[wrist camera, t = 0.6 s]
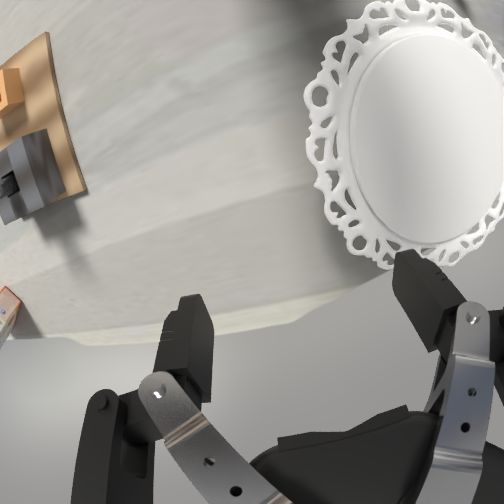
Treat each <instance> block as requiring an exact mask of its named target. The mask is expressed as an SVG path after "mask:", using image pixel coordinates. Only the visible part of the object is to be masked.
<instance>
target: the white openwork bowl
mask: <svg viewBox="0 0 504 504" xmlns="http://www.w3.org/2000/svg"><path fill="white" fill-rule="evenodd" d="M405 1H406V0H394V2H393V3H391V2H389V1H386V2H385V4H384V3H382V2H381V1H376V2H372V3H370V4H368V5H367V6H366V7H365V9H364V13H363V15H362V16H361V18H359V19H357V20H355V19H347V20H346V22H347V30H346V31H345V32H344V33H343V34H341V35H338V36H335V37H333V38H331V39H330V40H329V41H328V42H327V43H326V45H325V47H324V50H323V52H322V53H323V55H324V56H325V60H324V61H323V62H321V66H322V67H323V69H322V71H320V72H318V73H317V78H316V79H315V80H313V81H311V82H310V83H309V84H308V85H307V86H306V88H305V90H304V102H305V104H306V106H307V108H308V109H309V110H310V115H309V118H310V120H311V121H312V125H311V126H310V127H309V128H308V130H309V131H310V133H311V135H310V137H308V138H306V154H307V158H308V159H309V161H310V162H311V163H312V164H313V165H314V166H315V168H316V170H317V175H318V177H317V180H316V182H315V184H314V185H313V186H314V187H315V188H317V189H319V190H321V191H322V192H323V194H324V198H325V204H324V213H325V216H326V217H327V219H328V220H329V222H330V223H331V225H338V230H339V231H343V232H344V235H343V236H344V238H346V239H347V242H346V244H347V249H348V251H349V252H350V253H351V254H353V255H365V256H366V258H372V261H377V266H378V267H380V268H381V269H384V270H391V269H394V264H393V265H388V264H387V263H388V260H386V261H383V257H384V255H385V254H386V253H388V254H389V255H390V256H391V257H392V258H393V259H394V260H395V254H396V253H397V252H400V251H404V250H408V249H414V250H416V252H417V253H418V254H419V255H420V256H421V257H422V258H427V259H429V260H432V262H434V263H435V264H436V265H437V266H438V267H440V266H442V267H444V266H448V267H453V266H455V265H456V264H457V263H458V262H459V261H460V260H461V258H462V257H464V256H465V255H466V254H467V253H470V252H471V251H472V250H474V251H475V250H476V249H478V248H479V247H480V246H481V245H482V243H483V242H484V240H485V238H486V236H487V235H488V234H489V233H490V232H494V230H495V226H496V224H497V222H498V221H499V220H500V219H502V218H503V217H504V209H503V213H502V215H501V216H499V214H500V212H501V208H502V205H503V203H504V73H503V71H502V69H501V65H502V64H503V63H504V59H503V58H502V57H501V55H500V54H498V53H497V51H496V48H495V47H493V44H492V41H491V39H490V38H489V37H488V36H487V35H486V34H485V33H484V32H483V31H481V30H478V29H476V28H475V27H474V26H473V25H472V24H471V22H470V20H469V18H466V19H463V18H461V17H460V16H459V15H458V14H457V13H456V12H455V11H454V10H453V9H452V8H451V7H449V6H448V5H446V4H443V3H440V2H439V3H438V5H436V4H435V3H433V2H432V3H431V4H430V3H429V2H427V1H426V0H416V1H417V2H418V3H419V6H420V9H419V11H411V10H409V9H408V7H407V6H406V3H405ZM380 8H381V9H383V10H384V11H385V14H386V15H388V17H387V18H377V19H372V18H371V17H370V12H371V11H372V10H375V11H377V12H379V13H380ZM395 9H396V10H398V11H399V12H400V13H401V14H402V15H403V17H404V20H402V19H400V18H399V17H398V16H397V15H396V13H395ZM442 9H443V10H444V11H445V13H447V12H448V11H450V12H451V13H452V14H453V15H454V19H452V18H443V17H442V14H441V10H442ZM431 10H434V16H433V17H432V18H431V19H429V20H427V17H428V15H429V13H430V11H431ZM439 24H442V25H443V24H447V25H450V26H451V27H452V28H453V32H452V33H451V32H449V31H447V30H444V29H442V28H440V27H437V25H439ZM365 25H366V26H367V29H368V32H369V37H368V41H367V42H365V43H364V44H362V43H361V42H360V41H358V40H356V39H355V38H354V37H353V36H357V35H358V34H362V33H363V30H364V28H365ZM385 25H388V26H389V25H394V26H396V27H395V28H392V29H390V30H388V31H386V32H384V33H383V34H381V35H379V29H380V28H381V27H382V26H385ZM461 25H462V26H464V28H465V29H466V30H469V31H471V32H472V35H471V36H470V37H468V38H463V37H462V35H461V32H462V26H461ZM480 34H481V35H482V36H483V37H484V38H485V42H486V43H487V42H488V48H486V47H485V45H484V43H483V41H482V40H481V38H480V36H479V35H480ZM339 41H344V42H345V44H346V47H345V50H344V53H343V55H342V59H341V63H340V62H338V61H336V60H335V59H334V58H333V56H332V54H333V53H334V52H336V53H338V51H337V49H336V44H337V42H339ZM474 44H476V45H478V46H479V47H480V49H481V51H482V53H483V56H484V58H483V57H482V56H481V55H480V54H479V53H478V52H477V51H476V50H475V49H474V48H473V45H474ZM355 52H356V53H358V54H359V55H358V57H357V59H356V60H355V62H354V64H353V65H352V67H351V69H350V71H349V74H348V68H349V65H350V60H351V57H352V55H353V54H354V53H355ZM493 55H494V56H495V62H494V64H492V57H493ZM332 70H336V72H337V73H338V77H339V85H337V83H336V82H335V80H334V79H333V77H332V75H331V71H332ZM318 86H322V87H324V88H326V90H327V91H328V96H327V98H326V101H327V102H326V105H325V106H323V107H318V106H315V105H314V103H313V102H312V92H313V90H314V89H315V88H316V87H318ZM331 116H332V119H331V122H330V124H329V125H328V127H327V128H325V129H324V128H322V127H321V123H322V122H323V121H324V120H325V119H327V118H329V117H331ZM335 134H336V141H337V153H338V158H335V157H334V155H333V144H334V138H335ZM321 138H326V139H325V146H324V158H323V160H322V161H317V160H316V158H315V155H314V153H315V151H316V150H317V149H318V148H319V146H316V145H315V142H316V140H318V139H321ZM328 170H331V171H335V170H337V171H338V175H339V182H338V184H337V186H336V187H335V188H334V190H333V191H331V189H332V179H331V178H330V177H329V174H327V173H326V171H328ZM346 189H347V191H348V193H349V195H350V198H351V200H352V202H353V203H354V205H355V207H356V210H355V209H354V208H352V207H351V205H349V204H348V203H347V201H346V199H345V190H346ZM498 195H499V198H498V203H497V206H496V208H494V209H492V208H491V206H492V204H493V202H494V201H495V199H496V198H497V196H498ZM333 201H335V202H336V203H337V204H338V205H339V206H340V207H341V208H342V209H343V210H344V211H345V212H346V215H343V216H342V217H341V218H337V215H338V212H332V211H331V209H330V204H331V202H333ZM488 215H490V216H491V217H492V218H494V221H492V222H490V223H489V225H488V227H487V230H486V224H485V222H484V221H485V217H486V216H488ZM353 220H358V221H360V222H359V224H357V225H356V226H354V227H349V226H348V225H349V223H350V222H351V221H353ZM476 224H478V225H479V228H478V230H477V231H476V232H475V233H471V234H467V233H468V232H469V231H470V230H471V229H472V228H473V227H474V226H475V225H476ZM357 236H362V237H363V238H364V239H366V241H367V244H366V246H365V248H364V249H363V250H356V249H355V248H354V247H353V240H354V239H355V238H356V237H357ZM481 236H483V237H482V240H481V241H480V242H477V243H476V245H473V241H474V240H475V239H476V238H478V237H481ZM376 239H377V240H378V242H379V245H380V248H379V251H378V253H376V251H375V246H376ZM387 240H389V241H392V242H394V243H397V244H399V245H400V249H399V250H398V251H395V250H393V249H392V247H391V246H390V245H389V244H388V243H387ZM461 242H467V244H468V248H464V247H463V246H462V245H461ZM422 248H435V249H434V250H433V251H431V252H430V253H429V254H427V255H423V254H422V253H421V249H422ZM443 250H444V252H443V256H442V258H441V260H440V261H439V257H440V254H441V253H442V251H443ZM456 252H458V259H457V260H456V261H455V262H453V263H449V257H450V256H451V255H452V254H454V253H456Z"/></svg>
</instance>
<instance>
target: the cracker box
mask: <svg viewBox="0 0 504 504" xmlns="http://www.w3.org/2000/svg"><path fill="white" fill-rule="evenodd" d="M21 302H22V301H21V300H19V299H18V298H17V297H16V296H15V295H14V294H13V293H12V292H11V291H10V290H9V289H8V288H7V287H6V286H5V287H4V288H3V289H2V290H1V291H0V349H1V347H2V345H3V344H4V342H5V341H6V339H7V337H8V336H9V334H10V333H11V331H12V330H13V328H14V325H15V321H16V318H17V315H18V311H19V308H20V305H21Z"/></svg>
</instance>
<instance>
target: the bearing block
mask: <svg viewBox="0 0 504 504" xmlns="http://www.w3.org/2000/svg"><path fill="white" fill-rule="evenodd" d="M8 68H19V71H20V78H21V84H22V90H23V95H24V100H25V101H24V102H23V103H21V104H20V105H19V106H17V107H16V108H15V109H13V110H12V111H11V112H9V113H8V114H7V115H6V116H4V117H3V118H2V119H0V181H1V180H2V179H4V178H6V177H8V176H9V175H14V176H15V177H16V180H17V183H18V187H17V190H16V191H14V192H13V193H11V194H9V195H8V196H6V197H5V198H3V199H2V200H0V215H1V218H2V220H3V222H4V225H6V224H8V223H10V222H12V221H14V220H17V219H19V218H21V217H23V216H25V215H27V214H29V213H32V212H34V211H36V210H38V209H40V208H43V207H45V206H47V205H50V204H52V203H54V202H57V201H59V200H62V199H64V198H66V197H69V196H71V195H74V194H77V193H79V192H82V191H84V190H85V189H87V188H86V185H85V182H84V179H83V176H82V174H81V171H80V168H79V165H78V162H77V158H76V155H75V152H74V149H73V146H72V142H71V139H70V135H69V132H68V128H67V124H66V121H65V117H64V113H63V109H62V104H61V100H60V96H59V91H58V86H57V81H56V76H55V71H54V65H53V59H52V52H51V45H50V37H49V32H44V33H43V34H41V35H40V36H38V37H37V38H36V39H34V40H33V41H32V42H30V43H29V44H27V45H26V46H25V47H23V48H22V49H21V50H20V51H18V52H17V53H16V54H15V55H13V56H12V57H11V58H10V59H9V60H7V61H6V62H5V63H4V64H3V65H1V66H0V71H1V70H2V69H8Z"/></svg>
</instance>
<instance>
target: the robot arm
mask: <svg viewBox="0 0 504 504" xmlns="http://www.w3.org/2000/svg"><path fill="white" fill-rule="evenodd" d="M392 286H393V291H394V294H395V296H396V297H397V299H398V301H399V302H400V304H401V306H402V307H403V309H404V311H405V312H406V314H407V316H408V317H409V319H410V321H411V322H412V324H413V326H414V328H415V329H416V331H417V333H418V335H419V336H420V338H421V340H422V342H423V343H424V345H425V347H426V349H427V350H428V352H432V351H434V350H436V349H438V350H439V351H440V355H439V358H438V363H437V367H436V372H435V376H434V381H433V385H432V389H431V393H430V396H429V399H428V401H427V404H426V406H425V409H424V411H423V412H420V411H408V408H407V406H406V405H403V406H400V407H398V408H395V409H392V410H389V411H386V412H383V413H380V414H377V415H376V416H374V417H372V418H370V419H369V420H367V421H365V422H363V423H362V424H360V425H358V426H356V427H354V428H352V429H351V430H349V431H345V432H308V433H303V434H297V435H291V436H285V437H279V438H278V445H277V446H274V447H272V448H270V449H268V450H266V451H265V452H263V453H261V454H260V455H258V456H257V457H256V458H255V459H253V460H252V461H251V462H250V463H248V462H247V461H246V460H245V459H244V458H243V457H242V456H241V455H240V454H239V453H238V452H237V451H236V450H235V449H234V448H233V447H232V446H231V445H230V444H229V443H228V442H227V441H226V440H225V438H224V437H223V436H222V435H221V434H220V433H219V432H218V431H217V430H216V429H215V428H214V426H213V425H212V424H211V423H210V422H209V421H208V420H207V418H206V417H205V416H204V415H203V414H202V413H201V403H208V402H211V385H212V364H213V345H214V328H213V323H212V320H211V318H210V316H209V313H208V311H207V309H206V306H205V304H204V301H203V299H202V297H201V295H200V294H195V295H189V296H183V297H181V298H180V301H179V306H178V310H176V311H171V312H170V314H169V315H168V317H167V318H166V320H165V321H164V325H163V329H162V333H161V337H160V342H159V346H158V351H157V355H156V360H155V365H154V369H153V373H152V374H150V375H148V376H147V377H145V378H144V379H143V381H142V382H141V384H140V386H139V389H137V390H135V391H132V392H129V393H126V394H122V395H119V396H118V395H117V394H116V393H115V392H114V391H112V390H110V389H103V390H100V391H98V392H96V393H95V394H94V395H93V396H92V397H91V399H90V400H89V402H88V405H87V409H86V414H85V418H84V423H83V427H82V432H81V437H80V442H79V448H78V453H77V459H76V466H75V472H74V479H73V487H72V496H71V504H153V479H154V455H155V441H156V440H160V439H163V438H164V439H165V442H164V444H165V446H166V448H167V450H168V451H169V453H170V454H171V455H172V457H173V458H174V460H175V461H176V462H177V464H178V465H179V467H180V468H181V469H182V471H183V472H184V473H185V475H186V476H187V477H188V479H189V480H190V481H191V482H192V484H193V485H194V486H195V487H196V489H197V490H198V491H199V492H200V494H201V495H202V496H203V497H204V498H205V499H206V501H207V502H208V503H209V504H504V450H503V449H501V448H499V447H497V446H495V445H493V444H491V443H489V442H487V441H485V440H486V435H487V430H488V424H489V419H490V413H491V404H492V398H493V389H494V386H495V388H496V390H497V392H498V394H499V397H500V399H501V401H502V403H503V406H504V307H503V309H502V310H493V311H487V310H486V308H485V307H484V306H482V305H481V304H479V303H477V302H471V301H470V302H467V301H466V299H465V298H464V297H463V295H462V294H461V293H460V292H459V291H458V289H457V288H456V287H455V286H454V285H453V283H452V282H451V281H450V280H449V279H448V278H447V276H446V275H445V274H444V273H442V270H441V269H440V268H439V267H438V266H437V265H436V264H435V263H434V262H432V261H430V260H429V259H427V258H422V257H421V256H420V255H419V254H418V253H417V252H416V250H414V249H408V250H404V251H400V252H397V253H396V254H395V260H394V272H393V280H392Z"/></svg>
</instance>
